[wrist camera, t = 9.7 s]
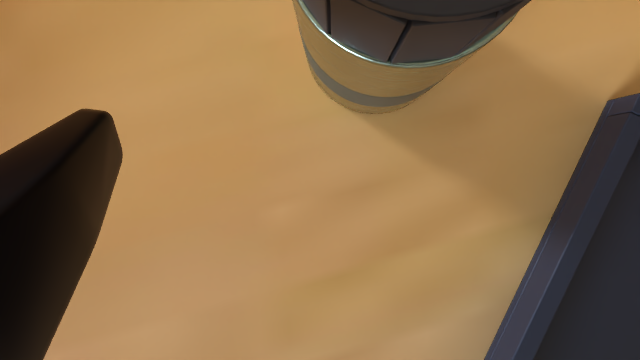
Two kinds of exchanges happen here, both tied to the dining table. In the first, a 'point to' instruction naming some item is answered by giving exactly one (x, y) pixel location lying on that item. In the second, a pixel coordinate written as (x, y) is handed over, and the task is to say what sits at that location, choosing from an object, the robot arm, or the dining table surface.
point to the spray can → (372, 69)
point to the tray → (586, 257)
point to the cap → (411, 25)
